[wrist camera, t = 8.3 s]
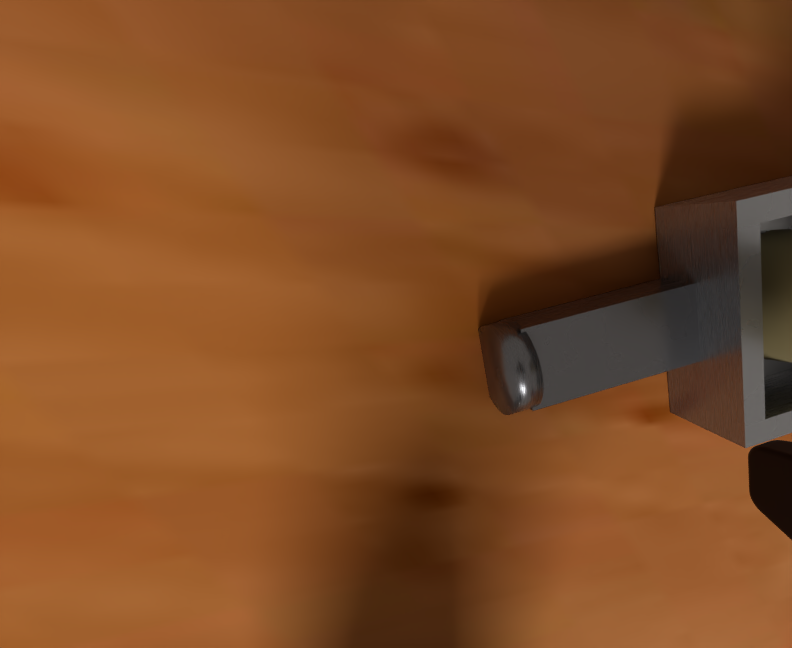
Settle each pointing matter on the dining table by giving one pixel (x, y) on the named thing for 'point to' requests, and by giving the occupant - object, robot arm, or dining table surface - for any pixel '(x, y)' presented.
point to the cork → (777, 294)
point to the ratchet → (666, 326)
